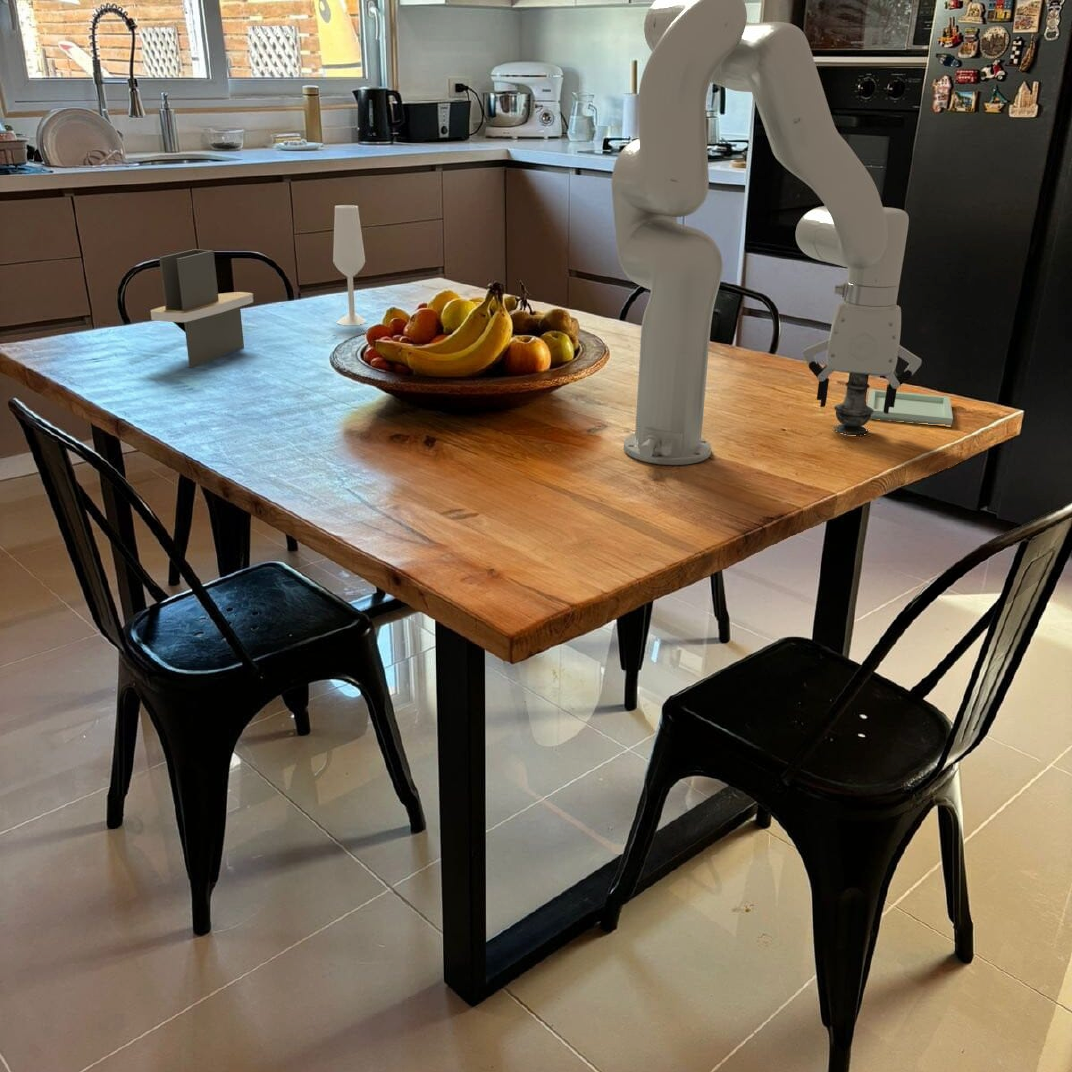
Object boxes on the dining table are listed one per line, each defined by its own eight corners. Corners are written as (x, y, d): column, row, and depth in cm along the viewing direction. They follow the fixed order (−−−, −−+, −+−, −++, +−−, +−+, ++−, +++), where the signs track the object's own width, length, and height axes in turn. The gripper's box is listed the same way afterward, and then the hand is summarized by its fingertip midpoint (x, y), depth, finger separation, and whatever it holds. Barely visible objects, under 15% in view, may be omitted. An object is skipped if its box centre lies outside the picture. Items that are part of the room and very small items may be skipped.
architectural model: (211, 331, 219) (201, 233, 211) (319, 342, 211) (313, 241, 203) (84, 376, 185) (66, 262, 177) (207, 391, 178) (194, 273, 170)
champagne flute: (342, 326, 223) (336, 209, 213) (332, 320, 228) (325, 205, 219) (372, 323, 226) (367, 207, 216) (361, 317, 231) (356, 204, 222)
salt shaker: (855, 439, 159) (867, 362, 155) (823, 429, 164) (833, 354, 159) (878, 432, 163) (890, 356, 158) (846, 423, 167) (856, 348, 162)
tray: (951, 427, 166) (952, 418, 165) (865, 418, 169) (867, 409, 169) (948, 405, 177) (949, 396, 176) (868, 397, 181) (869, 389, 180)
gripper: (808, 295, 154) (794, 408, 161) (933, 304, 149) (913, 421, 156) (812, 286, 160) (798, 395, 167) (932, 295, 156) (913, 407, 163)
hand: (854, 407), depth 162 cm, fingers open, 9 cm apart
